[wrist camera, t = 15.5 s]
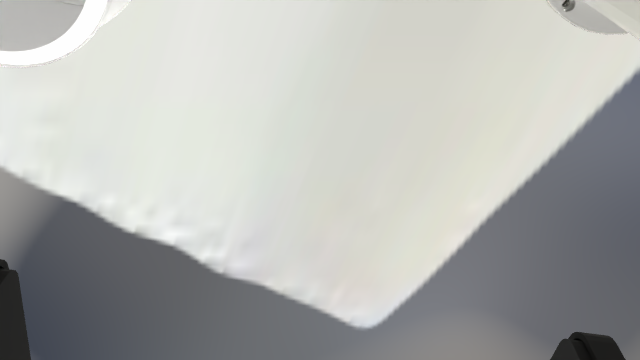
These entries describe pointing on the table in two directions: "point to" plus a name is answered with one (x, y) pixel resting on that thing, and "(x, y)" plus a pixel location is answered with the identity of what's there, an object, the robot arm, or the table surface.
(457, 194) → the table surface
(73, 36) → the jar
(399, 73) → the table surface
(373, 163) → the table surface
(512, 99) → the table surface
